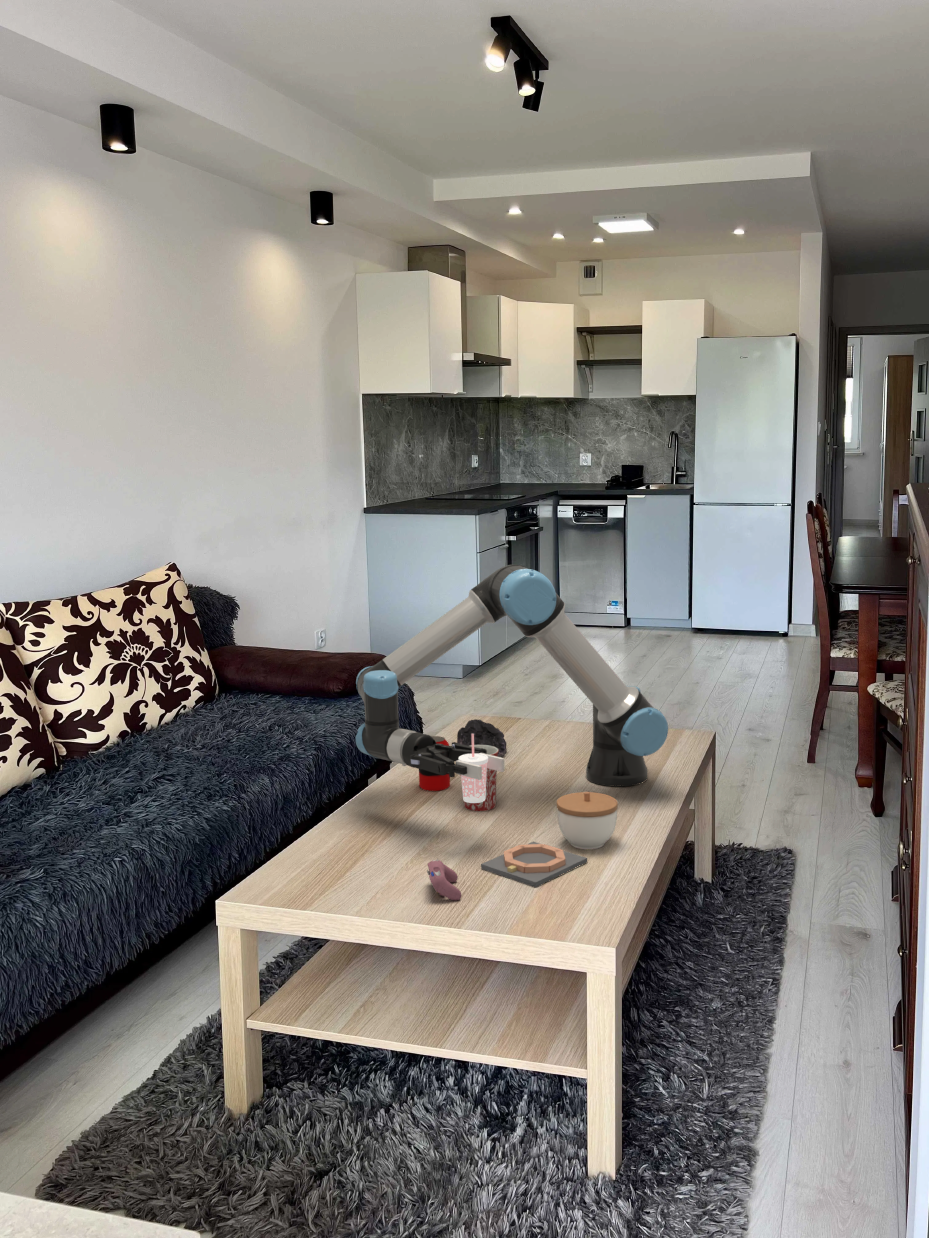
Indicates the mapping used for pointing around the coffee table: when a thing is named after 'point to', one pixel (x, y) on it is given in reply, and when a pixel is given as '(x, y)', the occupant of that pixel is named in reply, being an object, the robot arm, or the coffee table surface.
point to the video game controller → (443, 880)
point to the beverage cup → (473, 787)
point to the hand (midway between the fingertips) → (491, 768)
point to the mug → (490, 785)
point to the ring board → (533, 863)
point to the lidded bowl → (587, 818)
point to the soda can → (434, 774)
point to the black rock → (482, 735)
